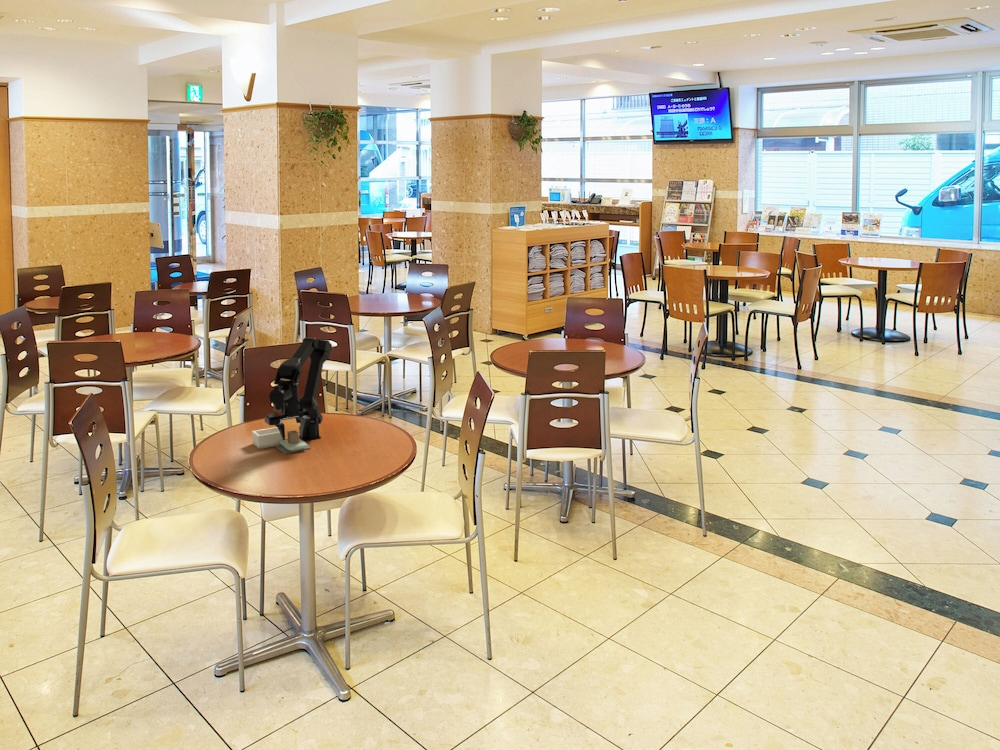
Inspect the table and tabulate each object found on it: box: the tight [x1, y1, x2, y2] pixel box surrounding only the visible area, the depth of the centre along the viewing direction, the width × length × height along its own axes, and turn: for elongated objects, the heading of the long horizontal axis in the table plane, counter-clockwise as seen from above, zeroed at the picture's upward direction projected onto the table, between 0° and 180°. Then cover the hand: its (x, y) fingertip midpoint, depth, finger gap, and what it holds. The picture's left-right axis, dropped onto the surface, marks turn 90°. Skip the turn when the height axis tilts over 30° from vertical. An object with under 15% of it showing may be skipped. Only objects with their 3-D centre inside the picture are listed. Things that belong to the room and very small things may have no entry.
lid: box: [279, 430, 309, 451], centre depth 321 cm, size 10×7×6 cm
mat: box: [275, 445, 311, 455], centre depth 322 cm, size 10×8×1 cm
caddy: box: [251, 426, 283, 450], centre depth 326 cm, size 10×7×5 cm
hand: (292, 438), depth 321 cm, fingers open, 7 cm apart
